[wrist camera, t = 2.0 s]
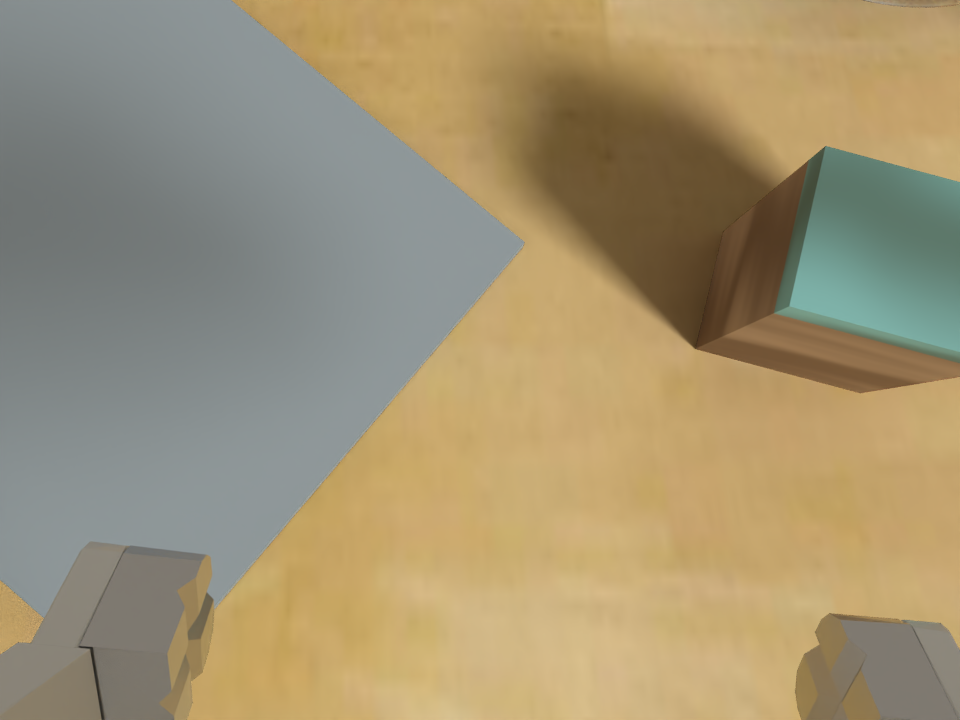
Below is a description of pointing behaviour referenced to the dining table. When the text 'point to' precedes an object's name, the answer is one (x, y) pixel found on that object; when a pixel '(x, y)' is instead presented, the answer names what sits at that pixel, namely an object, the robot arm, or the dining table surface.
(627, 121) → the dining table surface
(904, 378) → the green and brown block
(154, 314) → the slate mat
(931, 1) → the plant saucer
